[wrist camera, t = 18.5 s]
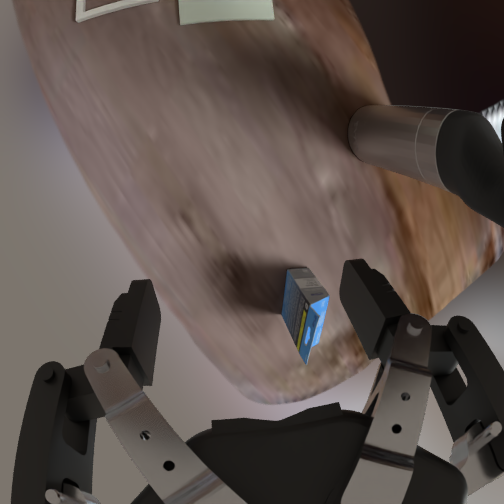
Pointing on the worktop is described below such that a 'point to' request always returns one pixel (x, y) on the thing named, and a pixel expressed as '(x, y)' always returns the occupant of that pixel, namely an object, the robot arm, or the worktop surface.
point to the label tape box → (304, 309)
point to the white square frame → (105, 8)
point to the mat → (224, 10)
